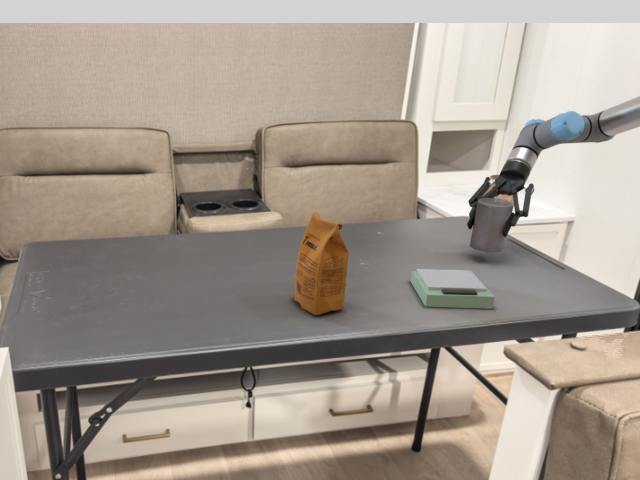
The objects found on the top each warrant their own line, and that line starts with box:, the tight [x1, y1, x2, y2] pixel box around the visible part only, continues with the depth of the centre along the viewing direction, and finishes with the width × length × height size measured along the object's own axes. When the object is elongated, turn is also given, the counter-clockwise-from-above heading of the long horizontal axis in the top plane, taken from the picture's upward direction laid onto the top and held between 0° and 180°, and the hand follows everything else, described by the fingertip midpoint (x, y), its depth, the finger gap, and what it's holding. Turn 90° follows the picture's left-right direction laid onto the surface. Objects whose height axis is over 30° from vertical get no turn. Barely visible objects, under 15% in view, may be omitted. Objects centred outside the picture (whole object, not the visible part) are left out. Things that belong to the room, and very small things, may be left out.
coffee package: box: [294, 211, 350, 316], centre depth 136 cm, size 10×12×22 cm
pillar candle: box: [469, 196, 514, 254], centre depth 168 cm, size 10×10×15 cm
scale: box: [410, 268, 496, 310], centre depth 147 cm, size 16×16×4 cm
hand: (486, 230), depth 166 cm, fingers closed on pillar candle, 9 cm apart
